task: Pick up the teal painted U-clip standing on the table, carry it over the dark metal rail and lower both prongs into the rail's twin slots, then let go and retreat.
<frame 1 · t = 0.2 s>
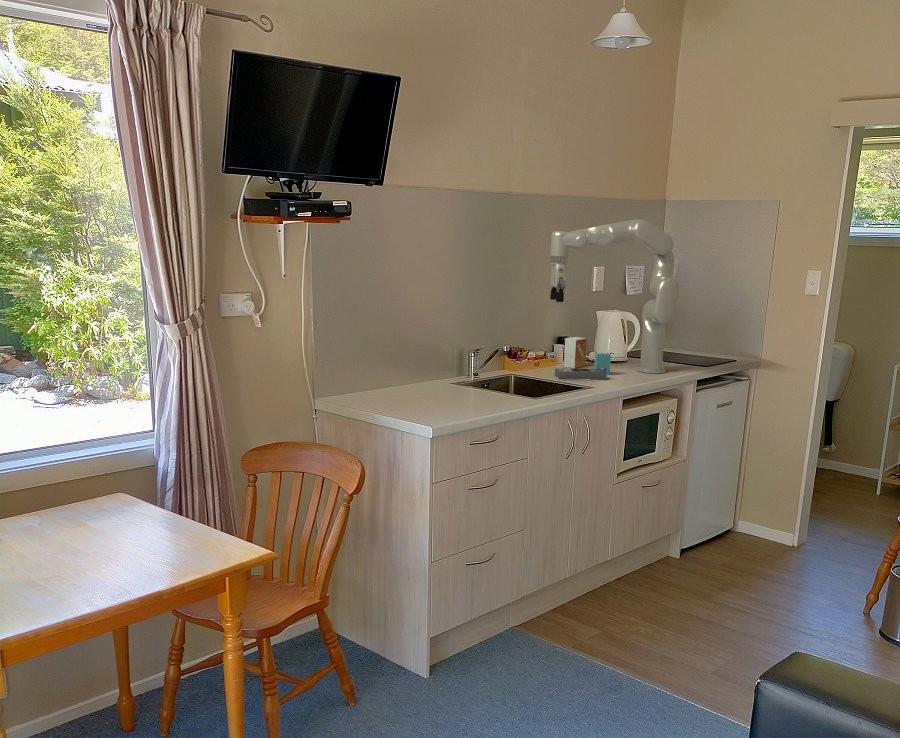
hand: (556, 300, 346), 31 cm above the table, fingers open, 9 cm apart
rail: (580, 378, 337), on the table
small box: (574, 367, 363), on the table
clip: (601, 374, 347), on the table
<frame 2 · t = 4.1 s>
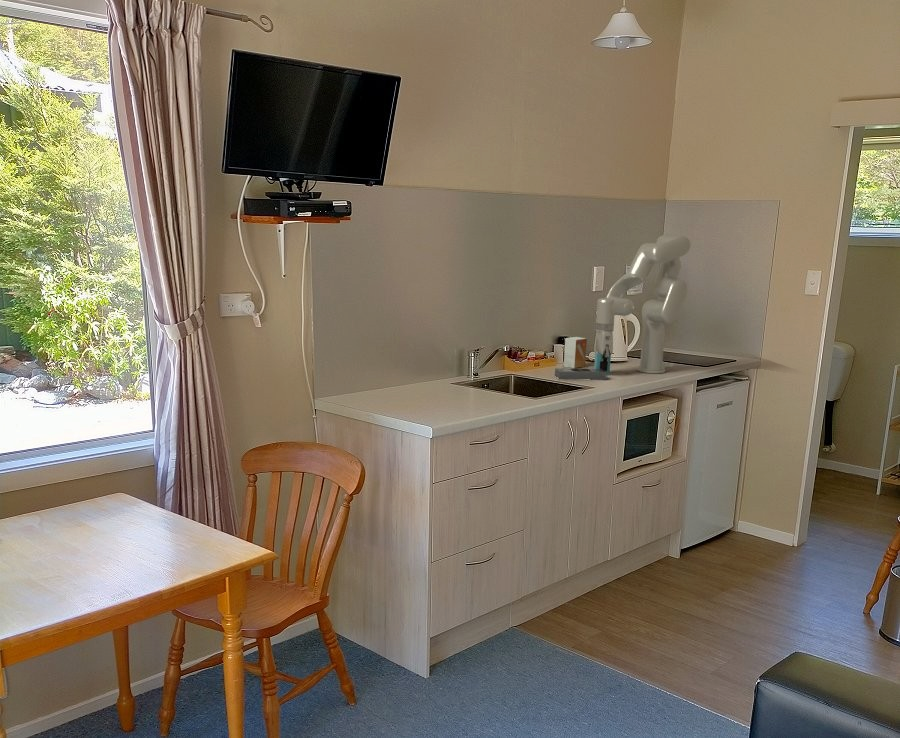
hand: (601, 369, 346), 2 cm above the table, fingers closed on clip, 3 cm apart
clip: (601, 374, 347), on the table, touching gripper
everything else where it was.
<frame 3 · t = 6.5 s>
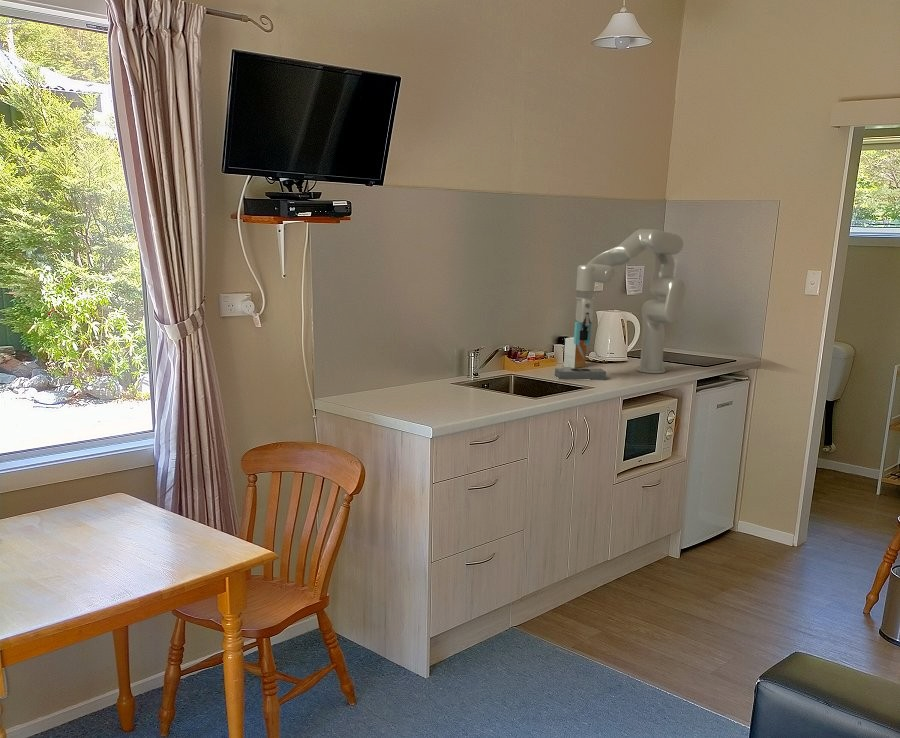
hand: (582, 339, 334), 17 cm above the table, fingers closed on clip, 3 cm apart
clip: (581, 344, 334), point 14 cm above the table, touching gripper
everything else where it was.
when the fingers open (4 cm above the table, at t = 9.2 s): clip drops 1 cm, resting on rail.
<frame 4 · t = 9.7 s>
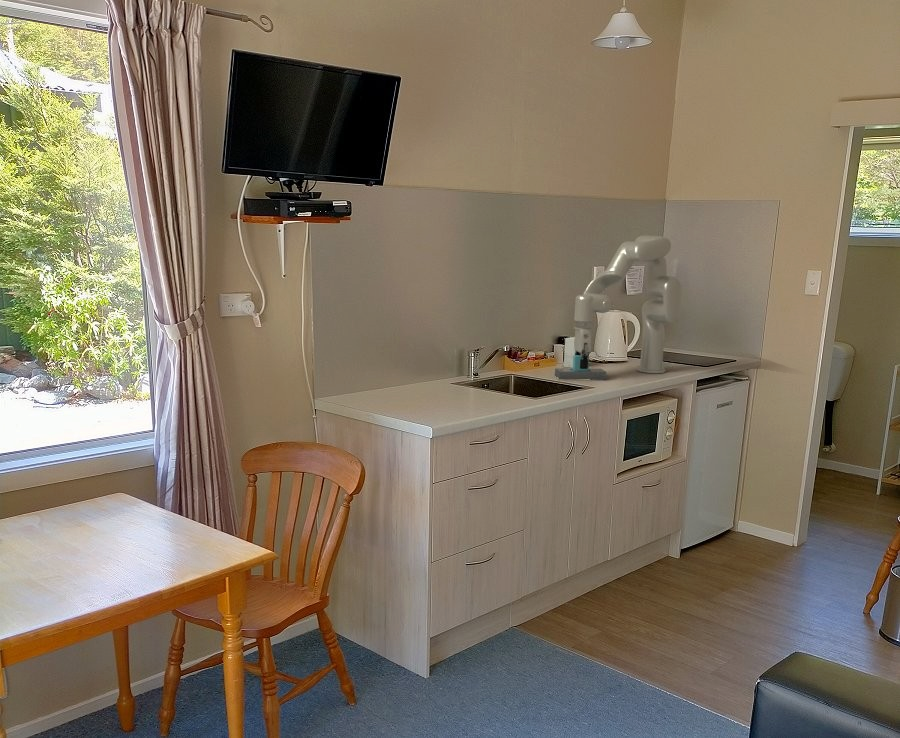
hand: (580, 366, 336), 5 cm above the table, fingers open, 8 cm apart
clip: (580, 377, 337), resting on rail
everything else where it was.
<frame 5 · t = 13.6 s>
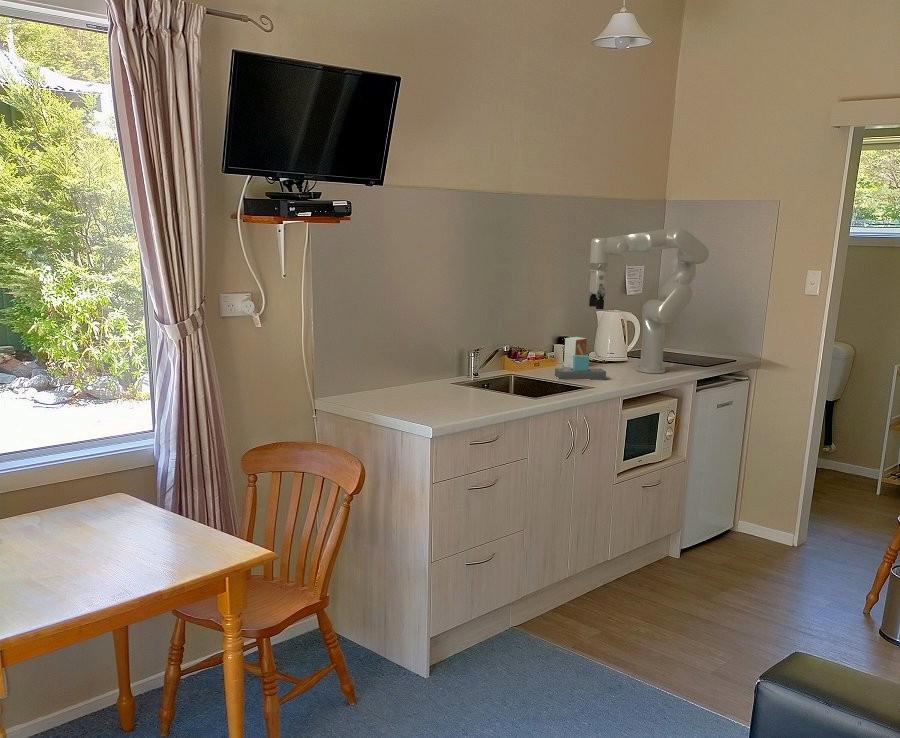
hand: (596, 307, 345), 28 cm above the table, fingers open, 9 cm apart
nothing on the table moved.
at the end: clip 0.0 cm off-centre on the rail, point 0.5 cm above the rail's base; clip tilted 0°; the gripper is holding nothing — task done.
